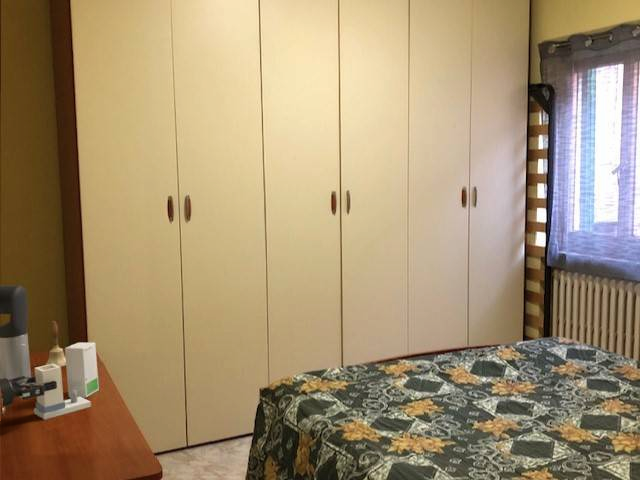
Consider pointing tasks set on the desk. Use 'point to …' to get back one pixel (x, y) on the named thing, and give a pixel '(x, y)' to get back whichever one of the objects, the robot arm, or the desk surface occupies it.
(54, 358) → the hand bell
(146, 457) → the desk surface
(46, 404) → the sleeve
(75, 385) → the skincare box
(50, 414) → the pin board
